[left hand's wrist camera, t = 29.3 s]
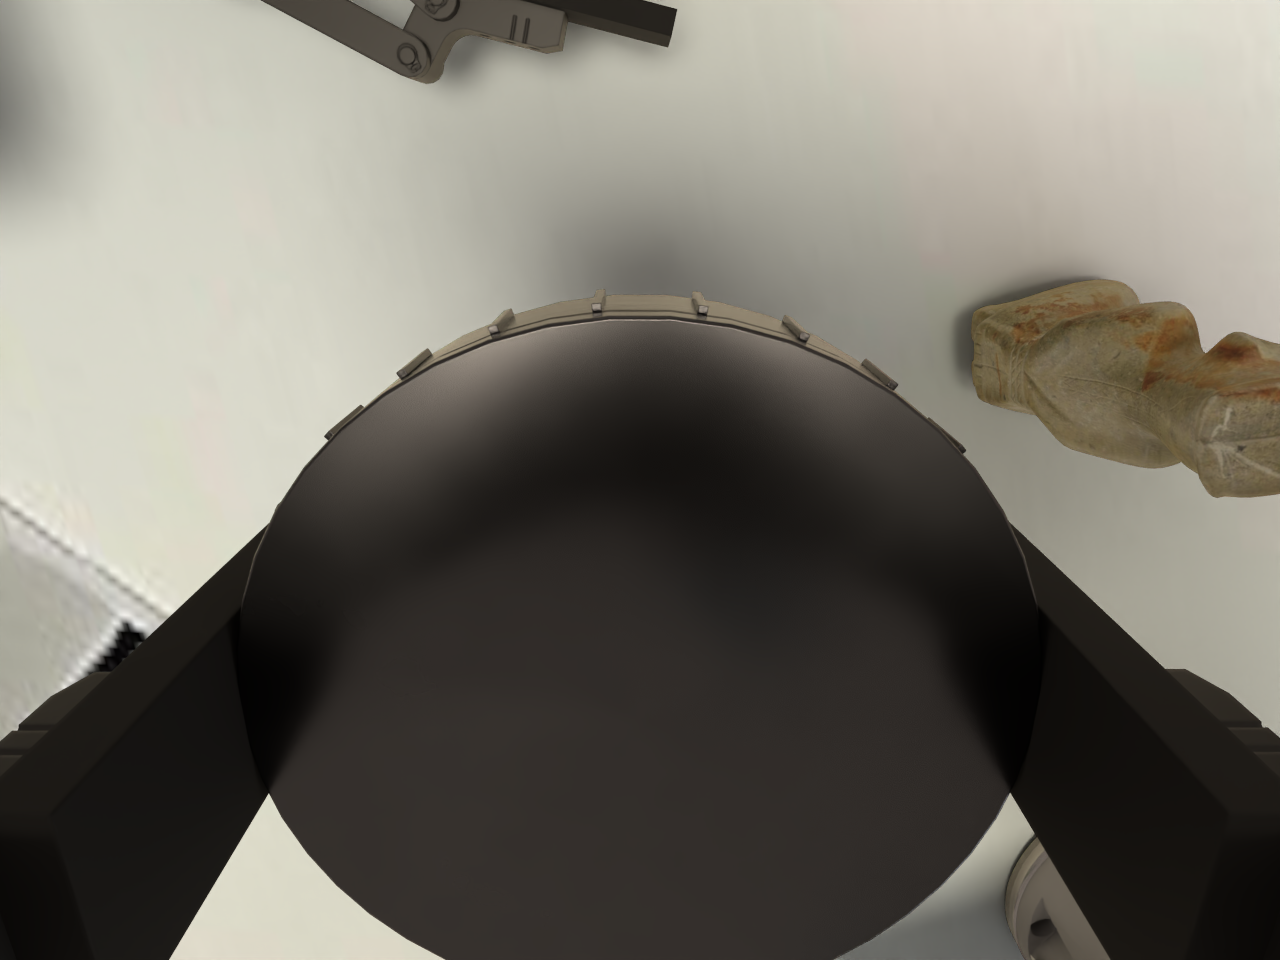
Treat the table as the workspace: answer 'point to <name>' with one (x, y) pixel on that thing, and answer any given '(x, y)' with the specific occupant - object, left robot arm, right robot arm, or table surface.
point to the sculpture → (1135, 383)
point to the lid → (639, 643)
